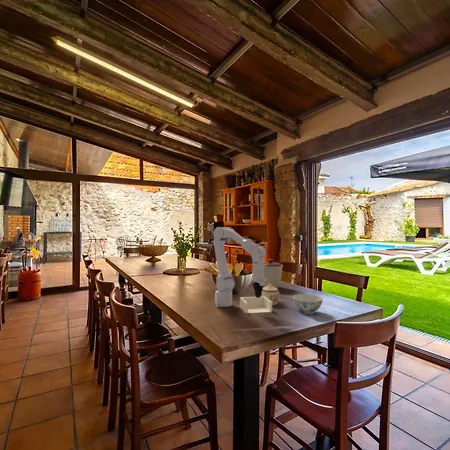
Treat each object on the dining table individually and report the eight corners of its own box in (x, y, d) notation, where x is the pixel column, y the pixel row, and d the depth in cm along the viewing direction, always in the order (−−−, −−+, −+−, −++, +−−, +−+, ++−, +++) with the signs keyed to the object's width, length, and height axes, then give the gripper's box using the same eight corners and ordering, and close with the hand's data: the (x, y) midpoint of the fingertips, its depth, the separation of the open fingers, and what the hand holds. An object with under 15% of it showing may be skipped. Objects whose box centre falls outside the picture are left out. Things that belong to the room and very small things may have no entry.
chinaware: (316, 308, 157) (316, 294, 157) (327, 316, 142) (327, 301, 142) (289, 308, 157) (289, 294, 157) (297, 316, 142) (297, 301, 142)
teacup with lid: (269, 307, 158) (269, 286, 158) (258, 304, 165) (258, 283, 165) (284, 304, 164) (285, 284, 164) (273, 301, 172) (273, 281, 172)
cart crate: (245, 315, 144) (245, 303, 144) (239, 308, 156) (239, 297, 156) (272, 313, 147) (272, 301, 147) (264, 307, 159) (264, 296, 159)
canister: (280, 285, 219) (280, 257, 219) (285, 290, 201) (285, 260, 201) (257, 284, 219) (257, 257, 219) (259, 290, 201) (259, 260, 201)
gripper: (270, 272, 140) (270, 300, 140) (261, 268, 154) (261, 293, 154) (256, 273, 138) (256, 301, 138) (248, 268, 153) (248, 294, 153)
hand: (258, 297), depth 146 cm, fingers closed
